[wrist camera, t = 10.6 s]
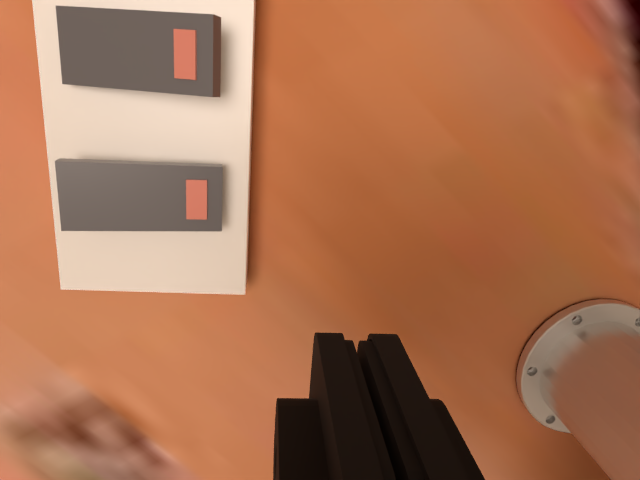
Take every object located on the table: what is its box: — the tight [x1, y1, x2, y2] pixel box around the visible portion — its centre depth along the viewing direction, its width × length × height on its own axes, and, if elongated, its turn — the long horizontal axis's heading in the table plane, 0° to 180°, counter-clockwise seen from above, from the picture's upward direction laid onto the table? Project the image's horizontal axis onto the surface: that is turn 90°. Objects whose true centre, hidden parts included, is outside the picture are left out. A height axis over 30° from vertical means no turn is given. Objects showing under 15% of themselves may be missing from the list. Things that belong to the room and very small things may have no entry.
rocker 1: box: [56, 6, 221, 97], centre depth 26 cm, size 9×4×1 cm, turn 86°
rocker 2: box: [55, 158, 223, 231], centre depth 28 cm, size 9×4×1 cm, turn 85°
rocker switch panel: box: [32, 0, 256, 295], centre depth 29 cm, size 12×30×4 cm, turn 175°
